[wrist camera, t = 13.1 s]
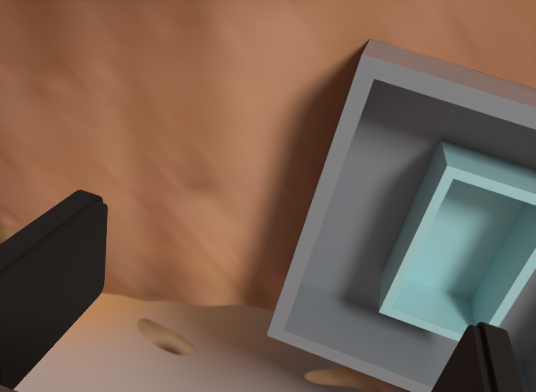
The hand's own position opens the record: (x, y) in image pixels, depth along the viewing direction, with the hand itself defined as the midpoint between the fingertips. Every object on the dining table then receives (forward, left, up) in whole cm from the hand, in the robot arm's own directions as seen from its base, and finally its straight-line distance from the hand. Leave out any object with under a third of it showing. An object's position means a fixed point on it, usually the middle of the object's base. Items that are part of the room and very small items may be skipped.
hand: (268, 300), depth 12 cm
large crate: (+6, +10, -23) cm, 26 cm away
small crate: (+6, +10, -22) cm, 25 cm away
